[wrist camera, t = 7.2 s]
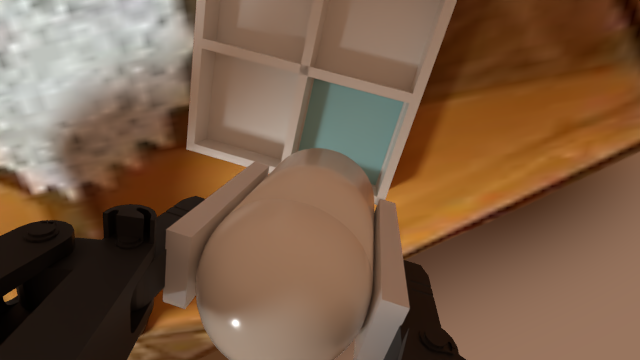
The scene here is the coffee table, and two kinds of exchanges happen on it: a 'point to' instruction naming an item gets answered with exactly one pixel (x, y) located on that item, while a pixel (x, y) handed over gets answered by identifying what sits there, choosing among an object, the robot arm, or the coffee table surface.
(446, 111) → the coffee table surface
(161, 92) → the coffee table surface
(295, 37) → the divided tray
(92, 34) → the coffee table surface
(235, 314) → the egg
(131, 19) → the coffee table surface
